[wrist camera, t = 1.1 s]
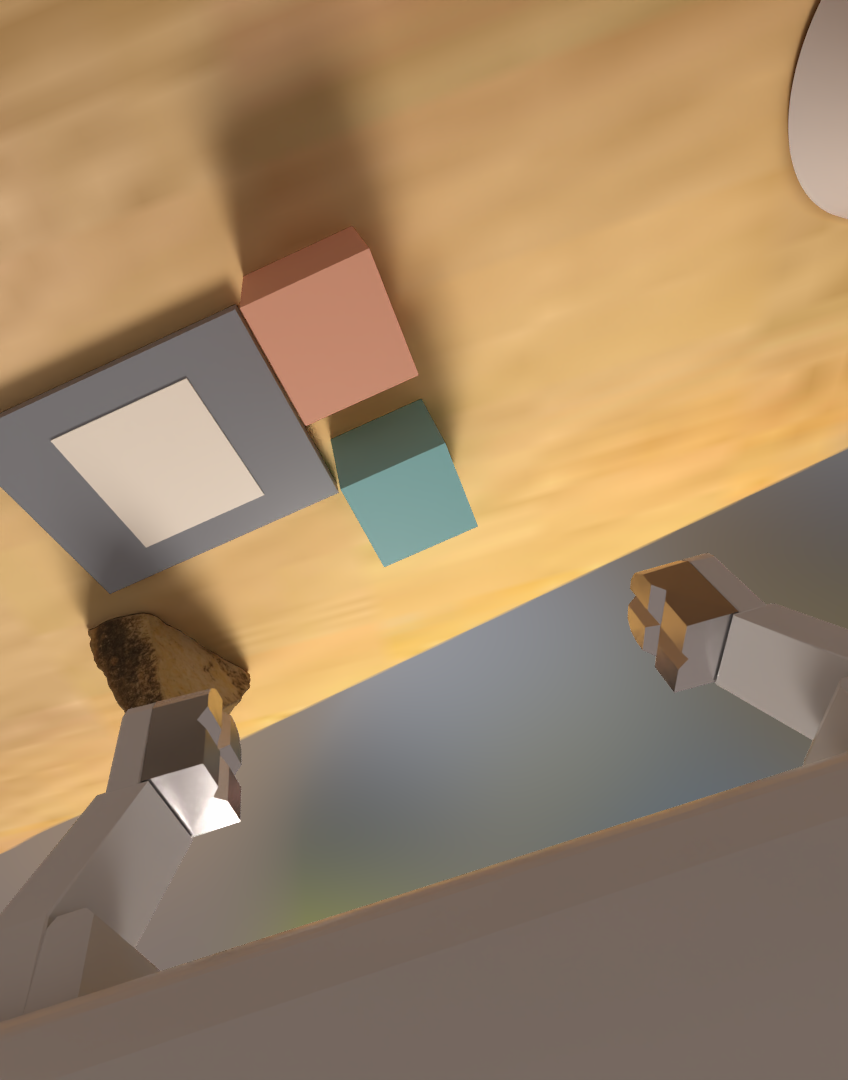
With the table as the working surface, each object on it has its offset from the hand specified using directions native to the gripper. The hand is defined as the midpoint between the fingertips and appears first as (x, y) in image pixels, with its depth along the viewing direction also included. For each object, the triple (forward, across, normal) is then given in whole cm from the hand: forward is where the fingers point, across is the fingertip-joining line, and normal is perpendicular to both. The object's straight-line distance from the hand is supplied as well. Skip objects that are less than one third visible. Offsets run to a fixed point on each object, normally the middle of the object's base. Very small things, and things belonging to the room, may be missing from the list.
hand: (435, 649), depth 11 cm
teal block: (+25, -2, +10) cm, 27 cm away
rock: (+26, +16, +22) cm, 37 cm away
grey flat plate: (+25, +10, +6) cm, 28 cm away
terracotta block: (+25, 0, 0) cm, 25 cm away
